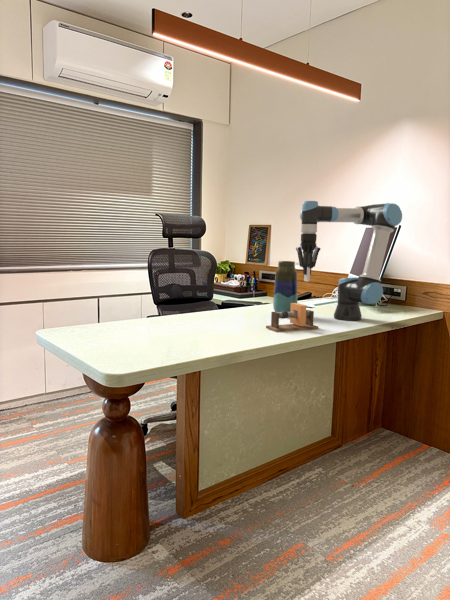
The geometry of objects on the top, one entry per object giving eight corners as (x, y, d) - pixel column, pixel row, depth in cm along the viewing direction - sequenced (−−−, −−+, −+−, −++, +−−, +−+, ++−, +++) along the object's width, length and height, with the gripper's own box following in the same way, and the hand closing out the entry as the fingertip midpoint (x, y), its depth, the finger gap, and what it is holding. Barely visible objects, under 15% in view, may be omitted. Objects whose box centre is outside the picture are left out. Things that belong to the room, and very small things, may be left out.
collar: (295, 322, 235) (295, 302, 233) (305, 325, 226) (306, 305, 224) (289, 322, 234) (290, 303, 232) (300, 326, 224) (301, 305, 223)
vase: (268, 315, 266) (270, 261, 261) (279, 312, 277) (280, 260, 273) (291, 318, 258) (293, 262, 254) (300, 314, 270) (302, 261, 266)
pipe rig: (307, 325, 238) (308, 308, 237) (318, 328, 229) (319, 311, 227) (266, 328, 229) (266, 310, 228) (275, 331, 220) (276, 313, 219)
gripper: (316, 233, 231) (313, 280, 234) (293, 232, 226) (291, 280, 229) (324, 233, 224) (322, 281, 227) (301, 232, 219) (299, 282, 222)
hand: (306, 281), depth 228 cm, fingers closed
